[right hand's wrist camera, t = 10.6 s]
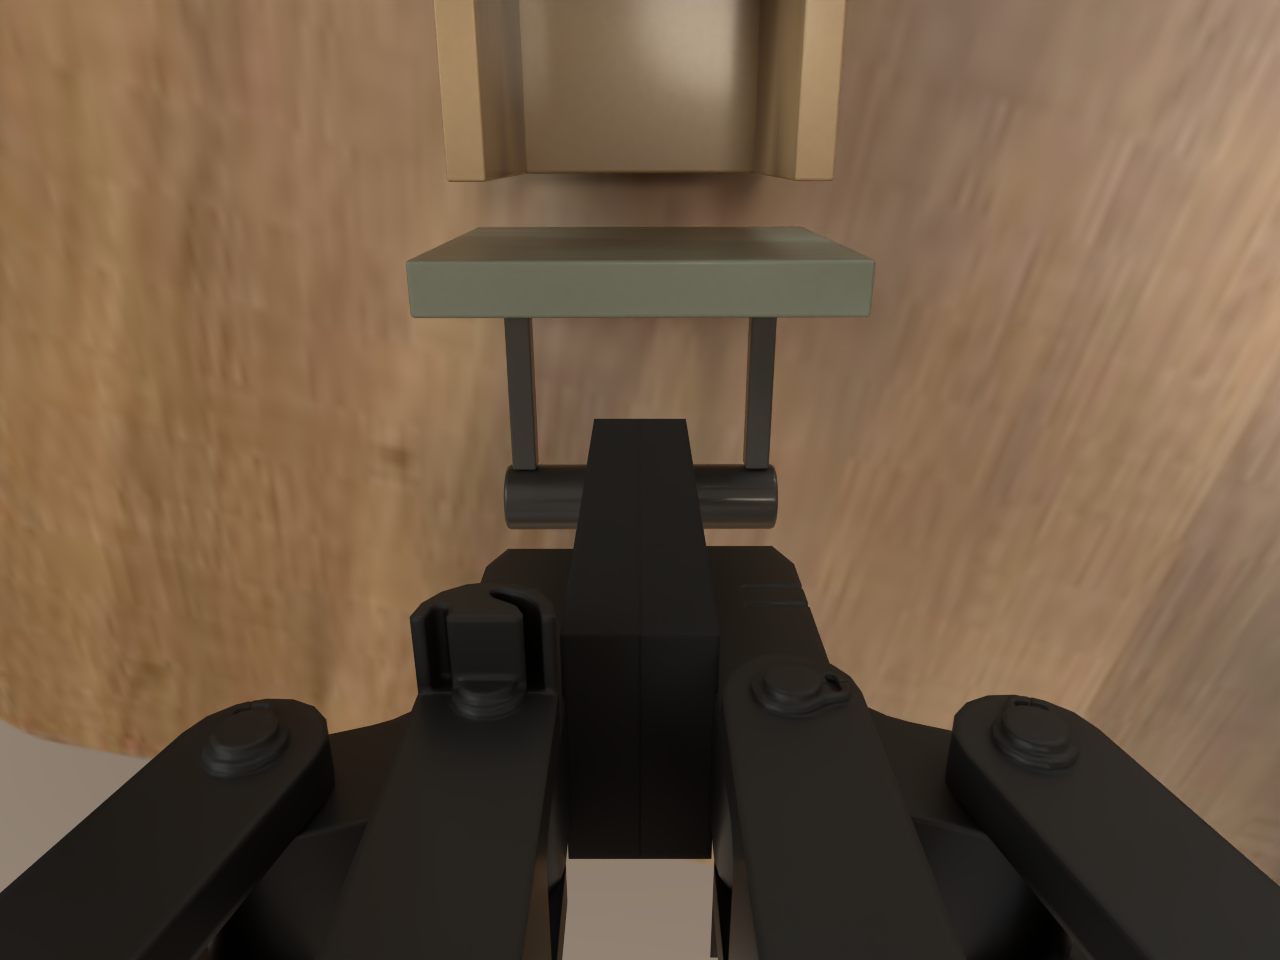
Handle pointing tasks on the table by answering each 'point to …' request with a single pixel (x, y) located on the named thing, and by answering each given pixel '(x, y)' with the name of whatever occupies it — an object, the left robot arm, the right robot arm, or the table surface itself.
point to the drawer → (640, 143)
